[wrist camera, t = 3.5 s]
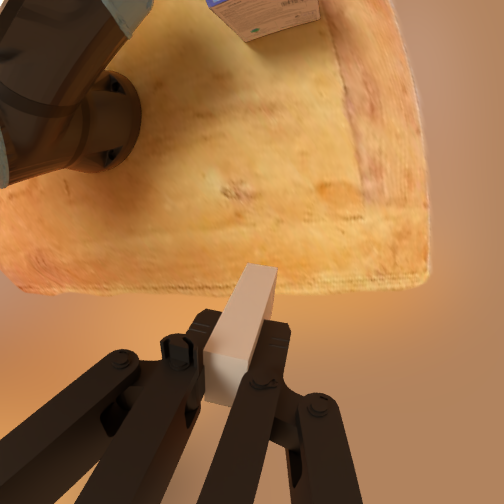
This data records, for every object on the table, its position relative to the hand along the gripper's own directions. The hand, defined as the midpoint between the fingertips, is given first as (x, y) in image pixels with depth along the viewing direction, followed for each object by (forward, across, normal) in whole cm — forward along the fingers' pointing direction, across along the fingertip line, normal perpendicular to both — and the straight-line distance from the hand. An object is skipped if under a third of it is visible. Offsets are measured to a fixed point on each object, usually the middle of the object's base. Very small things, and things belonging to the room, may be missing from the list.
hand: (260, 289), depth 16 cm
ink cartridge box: (+25, -4, +22) cm, 33 cm away
